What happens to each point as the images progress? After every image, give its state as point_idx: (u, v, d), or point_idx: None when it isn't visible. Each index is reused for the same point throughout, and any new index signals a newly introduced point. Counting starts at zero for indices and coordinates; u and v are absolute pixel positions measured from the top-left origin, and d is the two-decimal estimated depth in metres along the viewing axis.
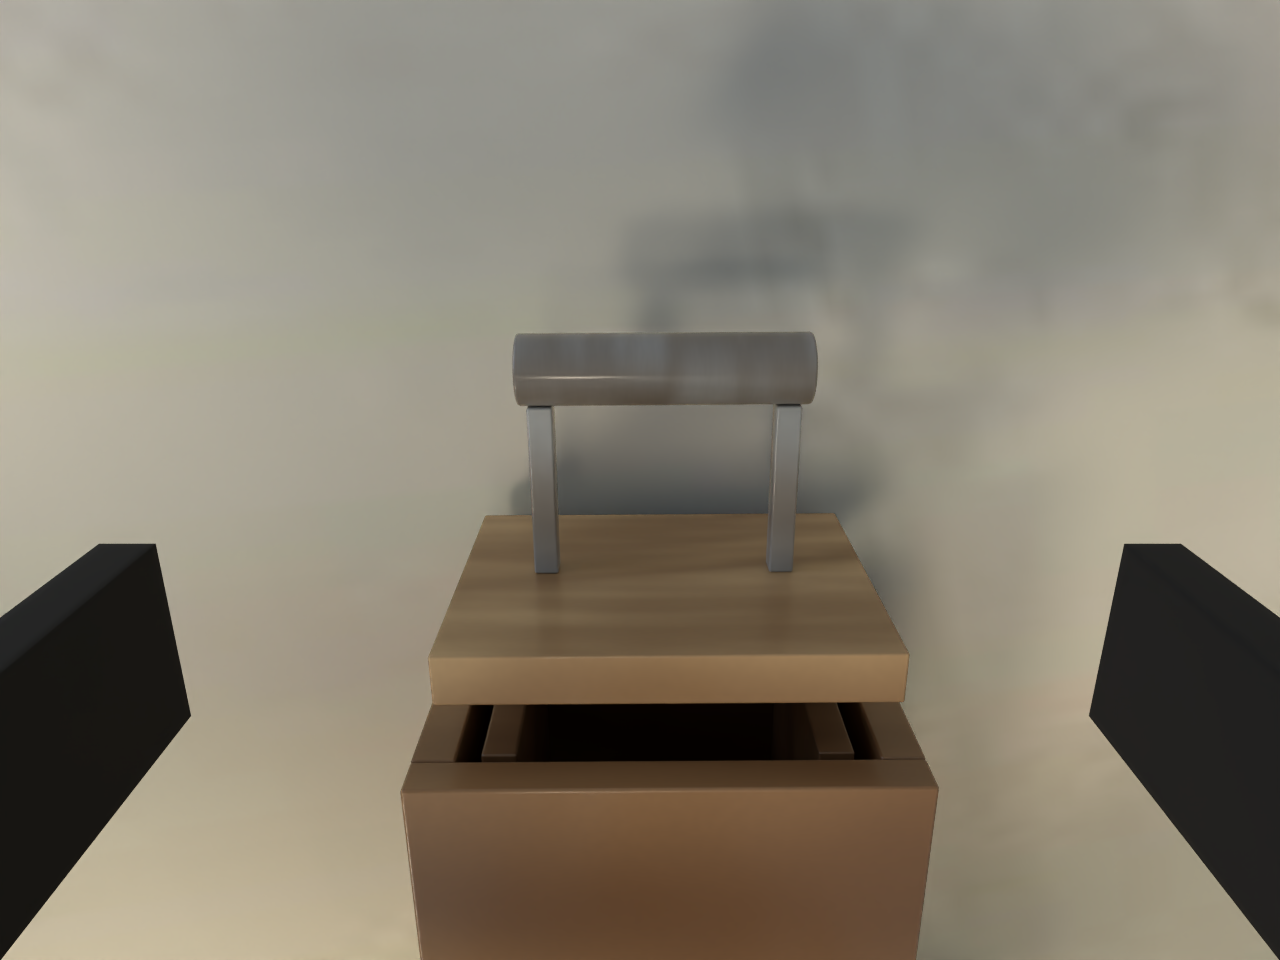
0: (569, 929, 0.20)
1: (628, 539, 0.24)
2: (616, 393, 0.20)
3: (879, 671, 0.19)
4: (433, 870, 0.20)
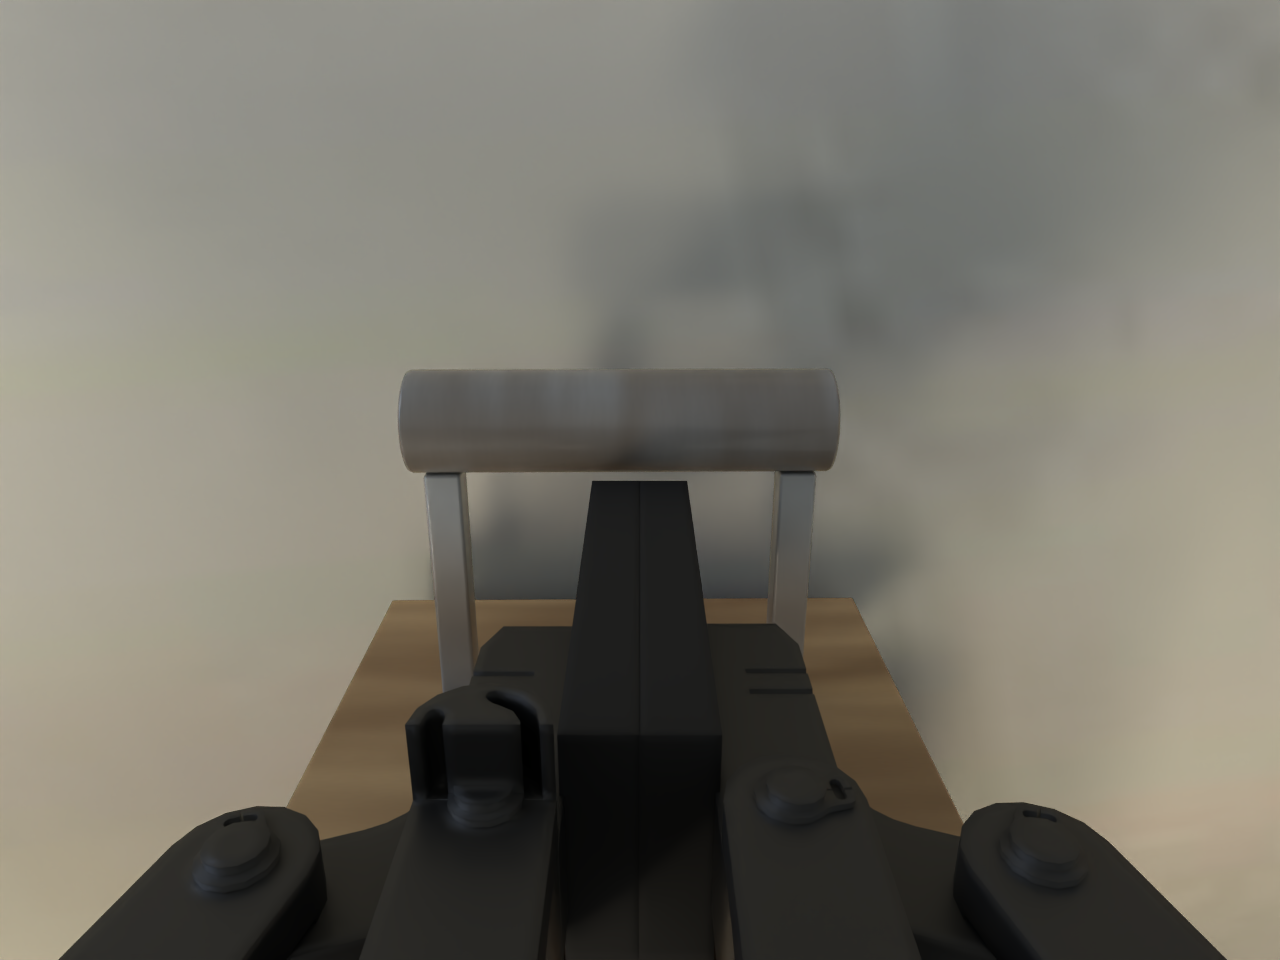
0: None
1: None
2: (550, 457, 0.14)
3: None
4: None
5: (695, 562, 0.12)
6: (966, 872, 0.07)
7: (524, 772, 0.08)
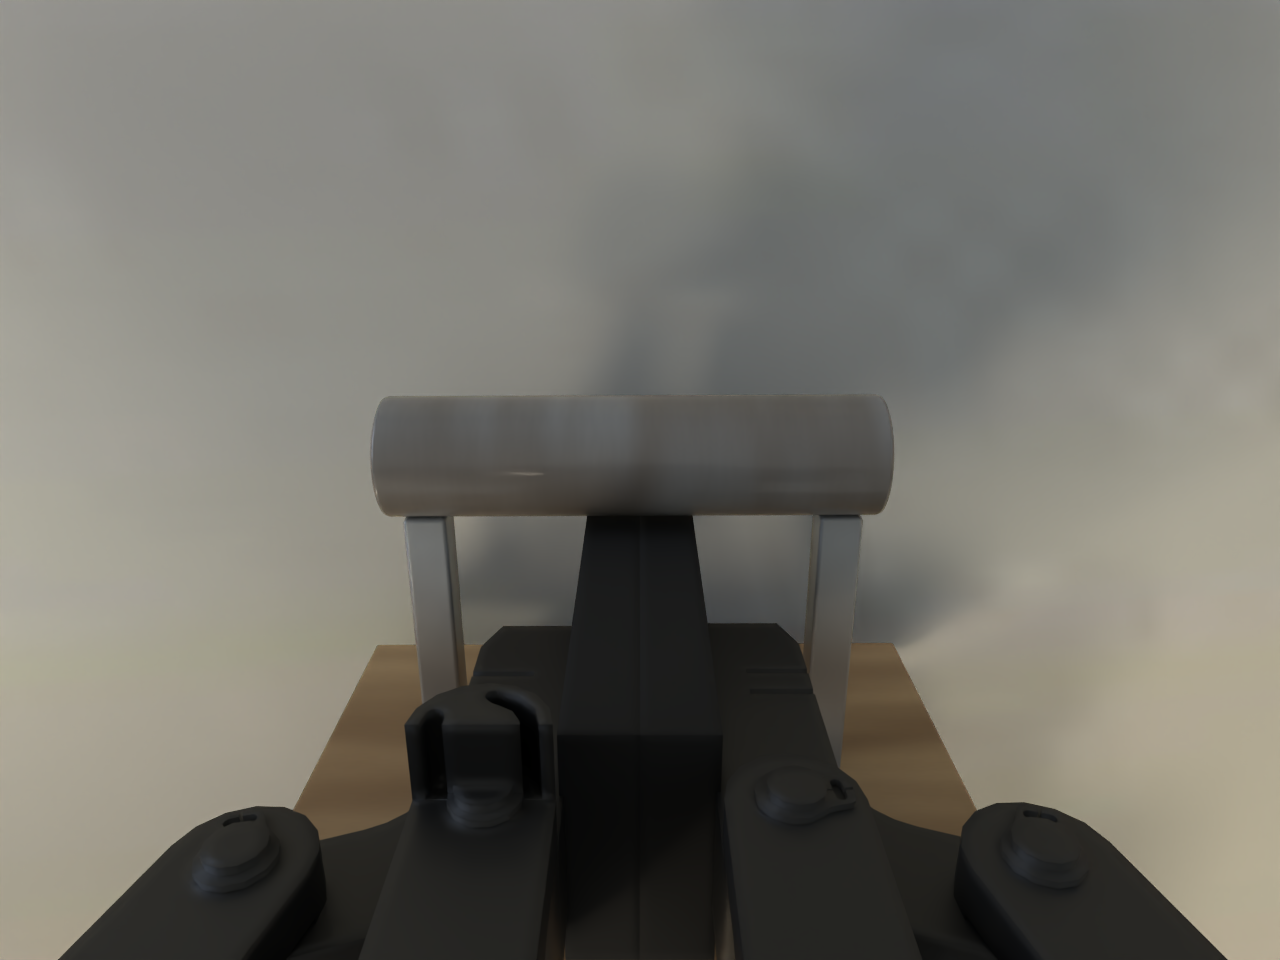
0: None
1: None
2: (550, 501, 0.12)
3: None
4: None
5: (696, 562, 0.12)
6: (966, 872, 0.07)
7: (524, 772, 0.08)
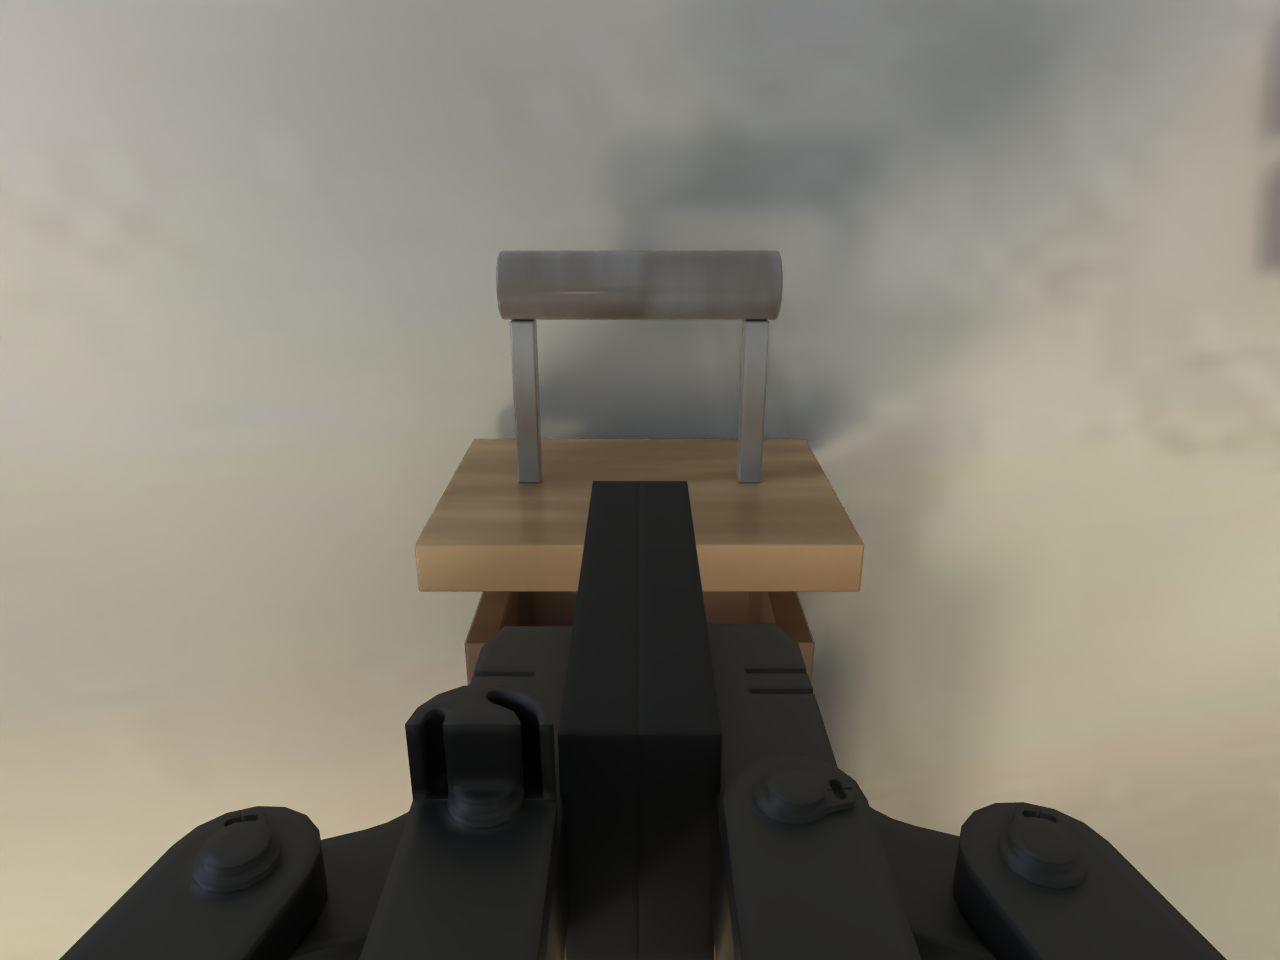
0: None
1: (608, 457, 0.26)
2: (594, 306, 0.22)
3: (836, 561, 0.20)
4: None
5: (695, 562, 0.12)
6: (965, 872, 0.07)
7: (525, 771, 0.08)
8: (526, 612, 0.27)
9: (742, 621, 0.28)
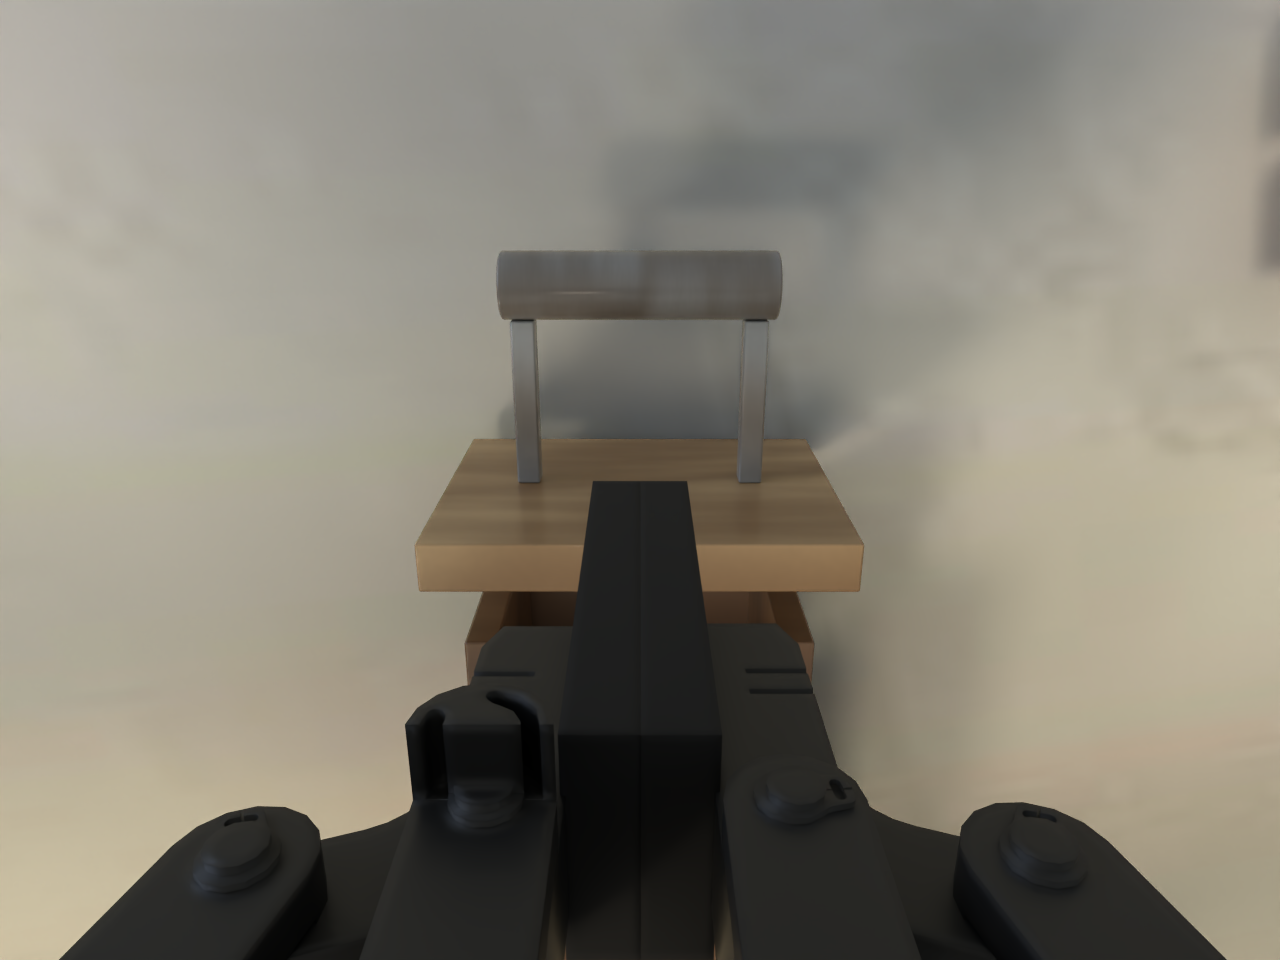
0: None
1: (608, 458, 0.26)
2: (593, 306, 0.22)
3: (836, 561, 0.20)
4: None
5: (695, 562, 0.12)
6: (965, 872, 0.07)
7: (525, 771, 0.08)
8: (526, 612, 0.27)
9: (742, 621, 0.28)
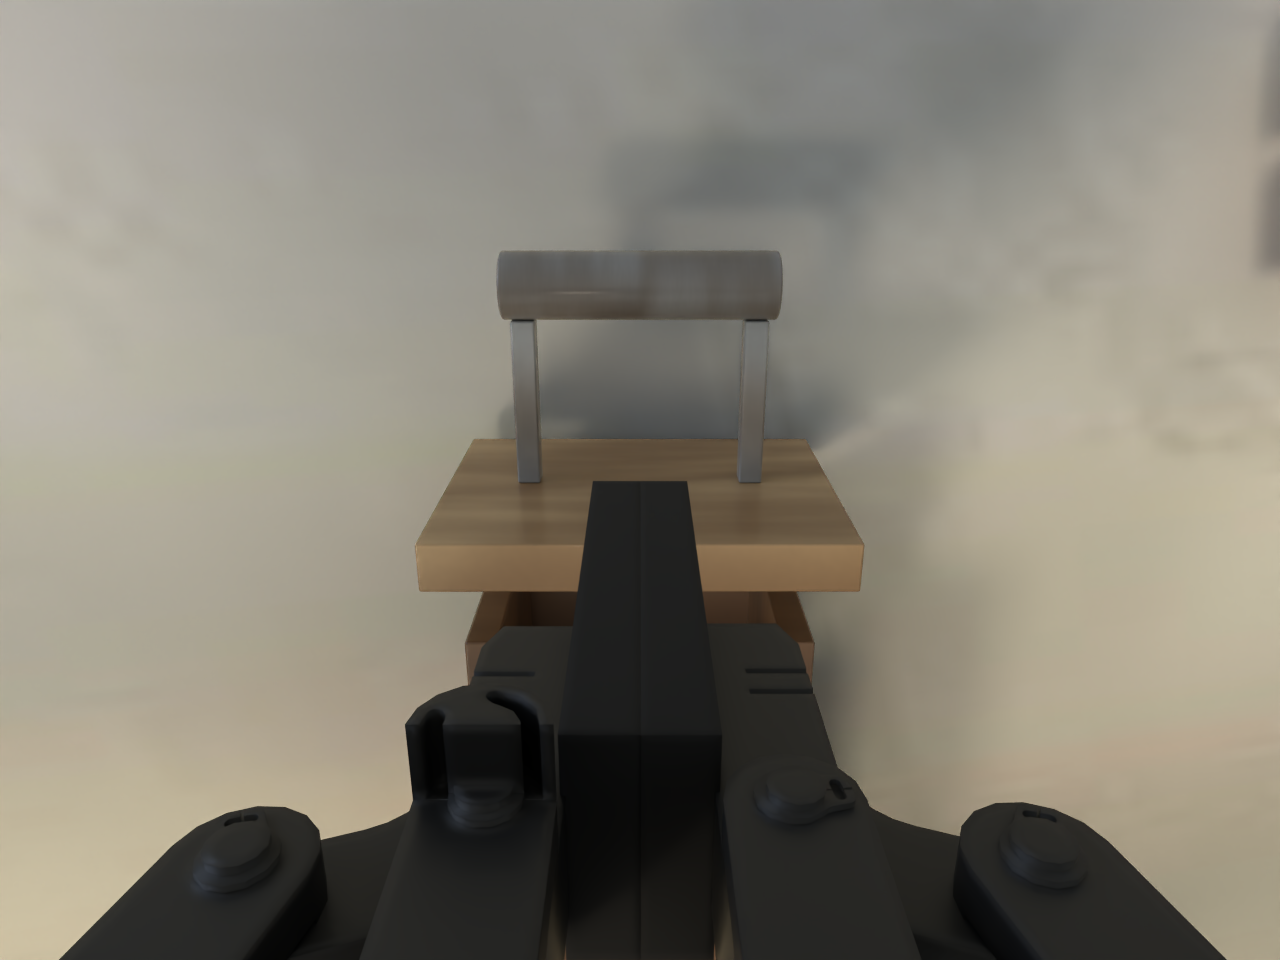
0: None
1: (608, 457, 0.26)
2: (594, 306, 0.22)
3: (836, 561, 0.20)
4: None
5: (695, 562, 0.12)
6: (965, 872, 0.07)
7: (525, 771, 0.08)
8: (526, 612, 0.27)
9: (742, 621, 0.28)
